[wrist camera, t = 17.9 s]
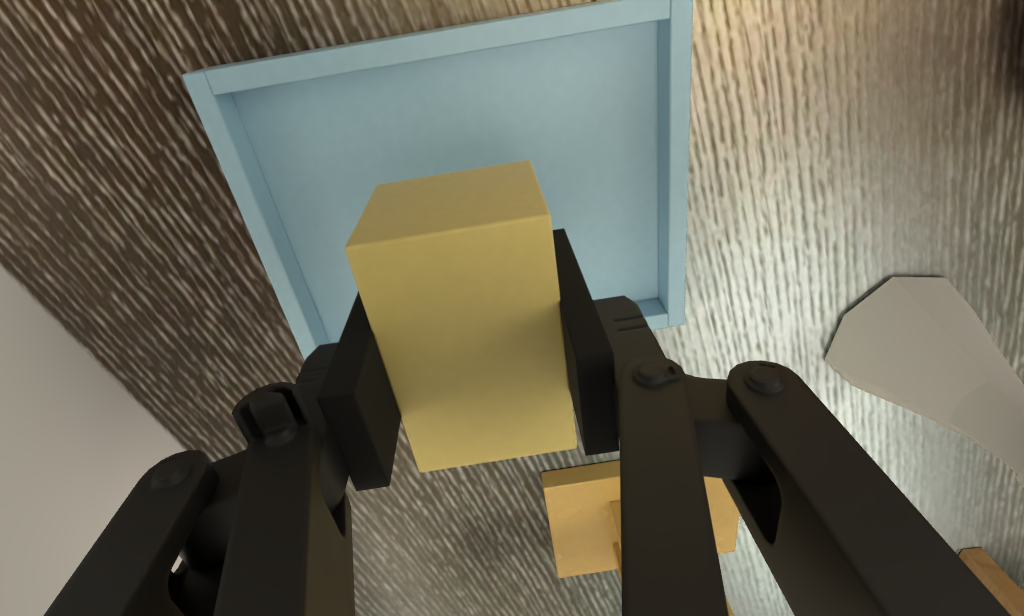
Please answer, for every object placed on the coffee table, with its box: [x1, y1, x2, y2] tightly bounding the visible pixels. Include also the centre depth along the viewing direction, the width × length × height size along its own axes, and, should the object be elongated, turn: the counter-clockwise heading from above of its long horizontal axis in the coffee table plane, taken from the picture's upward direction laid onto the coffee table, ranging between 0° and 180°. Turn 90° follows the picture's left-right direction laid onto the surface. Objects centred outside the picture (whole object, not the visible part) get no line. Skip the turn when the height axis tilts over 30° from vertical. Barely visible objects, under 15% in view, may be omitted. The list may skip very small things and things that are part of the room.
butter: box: [345, 160, 577, 472], centre depth 15 cm, size 7×4×4 cm, turn 8°
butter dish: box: [182, 0, 693, 360], centre depth 22 cm, size 18×14×2 cm
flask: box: [825, 277, 1024, 488], centre depth 24 cm, size 7×7×10 cm
